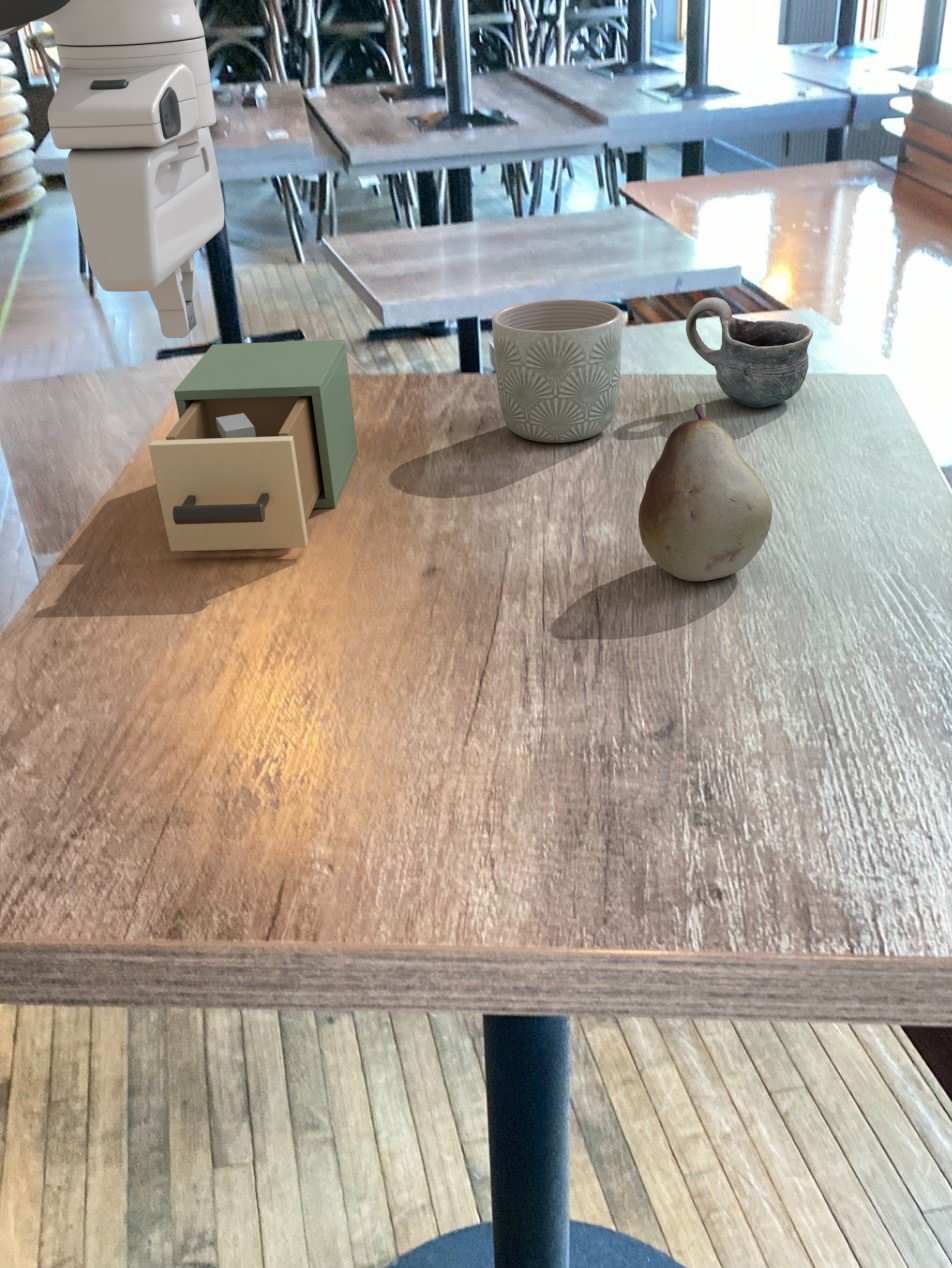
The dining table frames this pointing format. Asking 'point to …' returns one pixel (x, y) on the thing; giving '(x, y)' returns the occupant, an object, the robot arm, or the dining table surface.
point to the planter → (558, 367)
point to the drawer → (239, 476)
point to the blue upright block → (235, 426)
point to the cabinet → (287, 393)
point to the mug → (754, 355)
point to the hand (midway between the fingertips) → (181, 332)
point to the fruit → (703, 504)
